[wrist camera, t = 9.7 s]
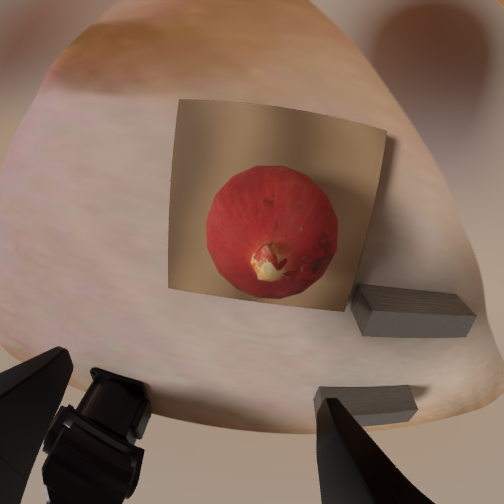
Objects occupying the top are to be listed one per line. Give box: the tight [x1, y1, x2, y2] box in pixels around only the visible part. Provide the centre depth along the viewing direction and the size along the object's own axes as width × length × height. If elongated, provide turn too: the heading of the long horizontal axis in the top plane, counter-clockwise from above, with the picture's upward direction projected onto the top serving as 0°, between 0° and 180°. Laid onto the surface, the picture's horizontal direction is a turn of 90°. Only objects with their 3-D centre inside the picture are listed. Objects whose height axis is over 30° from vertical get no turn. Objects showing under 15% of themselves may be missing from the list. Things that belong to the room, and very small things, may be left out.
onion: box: [206, 166, 338, 299], centre depth 12 cm, size 6×6×8 cm
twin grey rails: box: [313, 284, 476, 426], centre depth 20 cm, size 10×13×4 cm
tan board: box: [168, 99, 387, 312], centre depth 16 cm, size 12×12×2 cm
